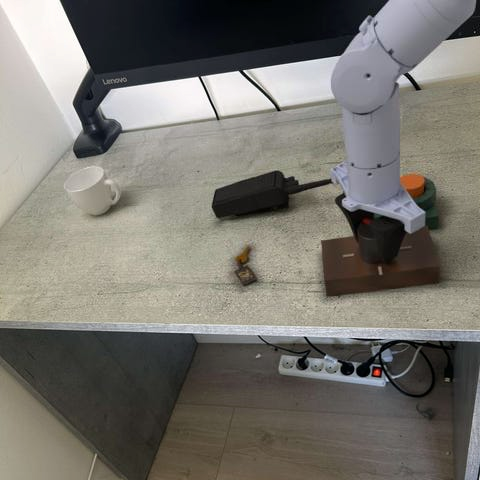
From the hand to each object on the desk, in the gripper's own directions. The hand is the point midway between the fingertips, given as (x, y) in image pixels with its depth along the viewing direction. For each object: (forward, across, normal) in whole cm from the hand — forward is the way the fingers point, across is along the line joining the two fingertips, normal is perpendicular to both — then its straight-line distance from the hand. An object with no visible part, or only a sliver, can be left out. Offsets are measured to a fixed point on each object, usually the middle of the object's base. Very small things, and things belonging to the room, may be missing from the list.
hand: (376, 248), depth 63 cm
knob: (+1, 0, 0) cm, 1 cm away
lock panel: (+4, 0, 0) cm, 4 cm away
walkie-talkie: (+4, -23, -2) cm, 23 cm away
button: (0, -6, +11) cm, 13 cm away
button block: (+4, -7, +9) cm, 12 cm away
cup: (+4, -47, -26) cm, 54 cm away
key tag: (+4, -13, -13) cm, 19 cm away
